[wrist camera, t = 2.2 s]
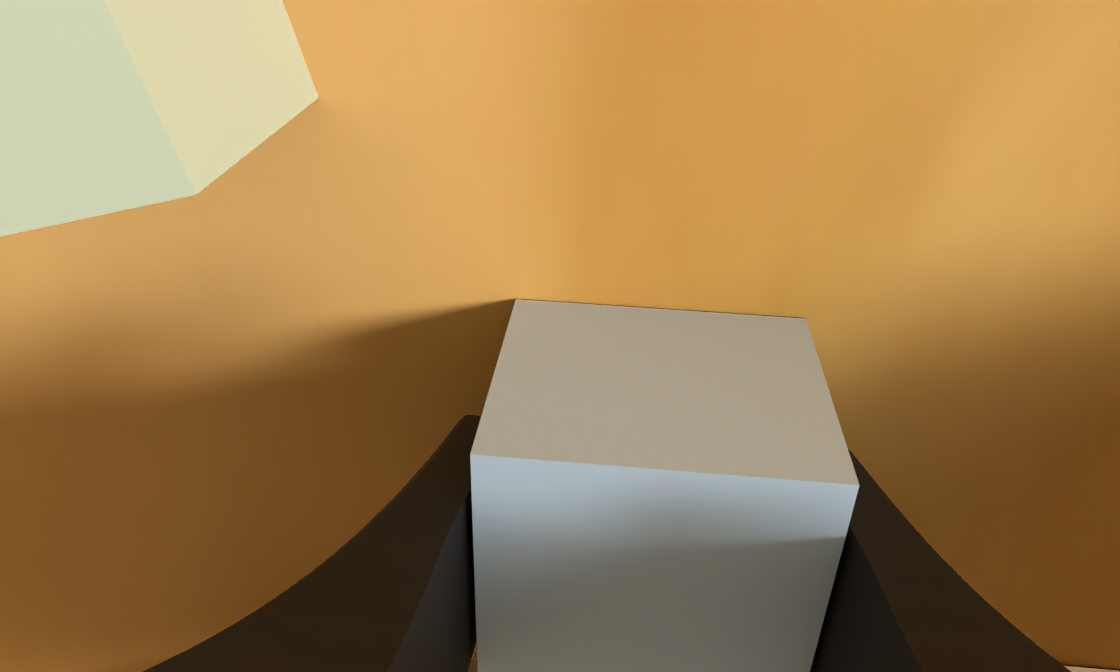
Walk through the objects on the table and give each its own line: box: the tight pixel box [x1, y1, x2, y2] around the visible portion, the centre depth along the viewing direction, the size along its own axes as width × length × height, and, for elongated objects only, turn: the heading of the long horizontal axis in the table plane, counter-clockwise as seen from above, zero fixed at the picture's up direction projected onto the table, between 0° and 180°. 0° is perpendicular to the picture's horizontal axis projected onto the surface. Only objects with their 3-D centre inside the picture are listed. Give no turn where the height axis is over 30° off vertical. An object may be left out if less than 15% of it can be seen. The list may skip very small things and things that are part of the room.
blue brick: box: [470, 299, 859, 672], centre depth 13 cm, size 5×5×4 cm
